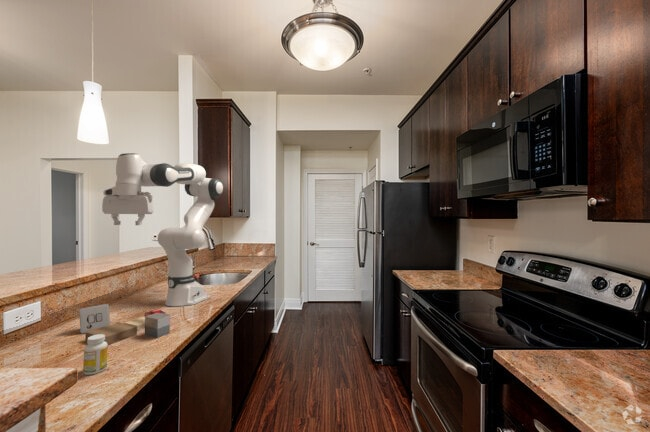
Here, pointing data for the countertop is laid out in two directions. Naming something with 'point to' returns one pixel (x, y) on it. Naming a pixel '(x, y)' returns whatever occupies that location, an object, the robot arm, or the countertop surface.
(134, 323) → the oak riser
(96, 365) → the supplement bottle
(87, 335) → the walnut stand
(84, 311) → the electrical switch
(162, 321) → the housing
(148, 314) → the race car
